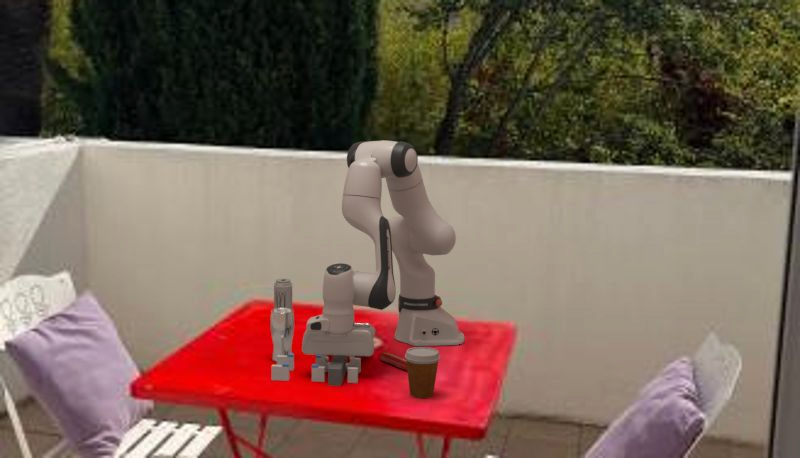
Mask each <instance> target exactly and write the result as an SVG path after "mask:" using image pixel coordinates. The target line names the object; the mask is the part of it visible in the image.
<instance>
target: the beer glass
mask: <svg viewBox="0 0 800 458" xmlns="http://www.w3.org/2000/svg"><path fill="white" fill-rule="evenodd" d="M294 313H295V311H294V309H293V308H292V309H290V308H275V309H274V308H273V309H271V310H270V332H271V339H272V344H273V352H272V357H271V359H272V361H273V362H276V363H277V355H287V354H288V353H289V354H293V352H292V344H293V339H294V338H293V337H294V332H295V314H294Z"/></svg>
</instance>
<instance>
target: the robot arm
mask: <svg viewBox="0 0 800 458" xmlns="http://www.w3.org/2000/svg"><path fill="white" fill-rule="evenodd" d="M418 159H419V157H418V153H417V150H416V149H415V147H414V146H413V144H411V143H409V142H405V141H394V140H383V139H382V140H372V141H371V140H370V141H365V140H362V141H357V142H355V143H353V144H352V145H351V146H350V148H349V149H348V150H347V153H346V164H347V169H348V170H347V173H346V177H345V180H344V181H345V182H344V185H343V191H342V200H341V213H342V216H343V218H344V219H345V221H346V222H347V223H348V224H349V225H350V226H352V227H353V228H355V229H356V230H359V231H360V232H362V233H364V234H366V235H367V236H368V237H370V238H371V240H372V242H373V243H374V251H375V252H374V253H375V255H374V256H375V257H374V258H375V272H364V271H358V270H357V271H356V270H353V267H352V266H351V265H350V264H347V263H340V262H339V263H334V264H331V265H329V266H327V267H326V268H325V271H324V276H323V283H322V284H323V285H322V300H323V308H322V313H321V314H318V315H316V316H311V317H309V319H308V320H307V322H306V327H305V328H306V330H305V332H303V337H302V342H301V344H302V345H301V351H302V352H303V354H304V355H315V356H316V355H321V359H322V361H323V363H324V364H325V370H328V368H329V366H330V363H331V361H329V362H327V360H326V357H328V356H334V355H343V356H347V357H348V356H349V359H348V360H349V362H347V363H346V364H345V367H346V368H345V370H346V372H348V367H351V364H352V362H353V361H354V359H355V358H356V357H371V356H373V354H374V352H375V343H374V338H375V337H376V328H375V326H374V325H372V324H371V323H369V322H365V323H362V322H355V309H354V306H357V307H367V308H371V309H376V310H380V311H383V310H385V309H386V308H388V307H390V306H391V305H392V304H393V303H394V302H395V299H396V295H397V294H396V292H397V291H396V288H397V287H396V282H395V276H394V265H393V264H394V263H393V262H394V261H393V255H394V257H395V259H396V261H397V262H396V263H397V265H398V270H399V279H400V281H399V286H400V287H399V289H400V290H399V292H400V293H399V294H398V298H397V301H398V302H397V303H398V304H397V306H398V307H397V308H398V309H397V310H398V320H397V326H396V330H395V332H394V333H395V334H394V339H395V340H397V341H399V342H401V343H405V344H409V345H410V346H412V347H413V346H414V347H429V346H430V347H431V346H459V344H460V345H462V344H463V343H464V342H465V335H464V333H463V332H462V331H460V330H459V328H458V323H457V320H456V318H455V317H454V316H453V315H452V314H450V313H449V312H448V311H446V309H444V308H443V307H442V305H443V301H442V299H441V296H439V295H437V294H436V273H435V269H434V268H433V267H432V266H431V265H430V264H429V263H428V262H427V260H426V259H425V256H424V255H427V256H428V255H429V256H442V255H443V256H444V255H448V254H450V253H451V252H452V250H453V249H454V247H455V245H456V241H457V240H456V239H457V238H456V237H457V235H456V232H455V230H454V227H453V226H452V225H450V224H449V223H448V222H446V221H445V219H443V218H442V217H441V216H440V214H438V212H437V211H436V209H435V208H434V206H433V205H432V202H431V201H430V200H429V197H428V194H427V191H426V187H425V183H424V179H423V176H422V172H421V169H420V166H419V163H418V162H419V160H418ZM383 178H384V179H385V182H386V186H387V190H388V194H389V197H390V198H389V199H390V200H391V205H392V208H393V210H394V211H395V212H396V213H397V214H398V215H399V216H398V215H397V216H393V217H391V216H390V218H388V219H387V218H386V217H384V214H383V211H382V206H381V203H382V183H383V182H382V179H383Z"/></svg>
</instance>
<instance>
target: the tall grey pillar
mask: <svg viewBox="0 0 800 458" xmlns="http://www.w3.org/2000/svg"><path fill="white" fill-rule="evenodd" d="M332 356H333V357H332V359H331V361H330V366H329V368H328V372H327V373H328V375H327V382H328V383H327V385H328V386H336V387H341V386H342V384H343V382H344V378H345V376H346V372H347V371H346V370H345V368H346V367H345V364H346V363H348V356H343V355H332Z"/></svg>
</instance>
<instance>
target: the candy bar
mask: <svg viewBox="0 0 800 458" xmlns="http://www.w3.org/2000/svg"><path fill="white" fill-rule="evenodd" d="M378 358H379V360H380V361H382V362H385V363H387V364H390V365H393V366H394V367H397V368H399V369H401V370H404V371H407V372H408V370H407V360H406V358H404V357H400V356H398V355H395V354H393V353H390V352H381V353H380V354H379V355H378Z"/></svg>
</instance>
